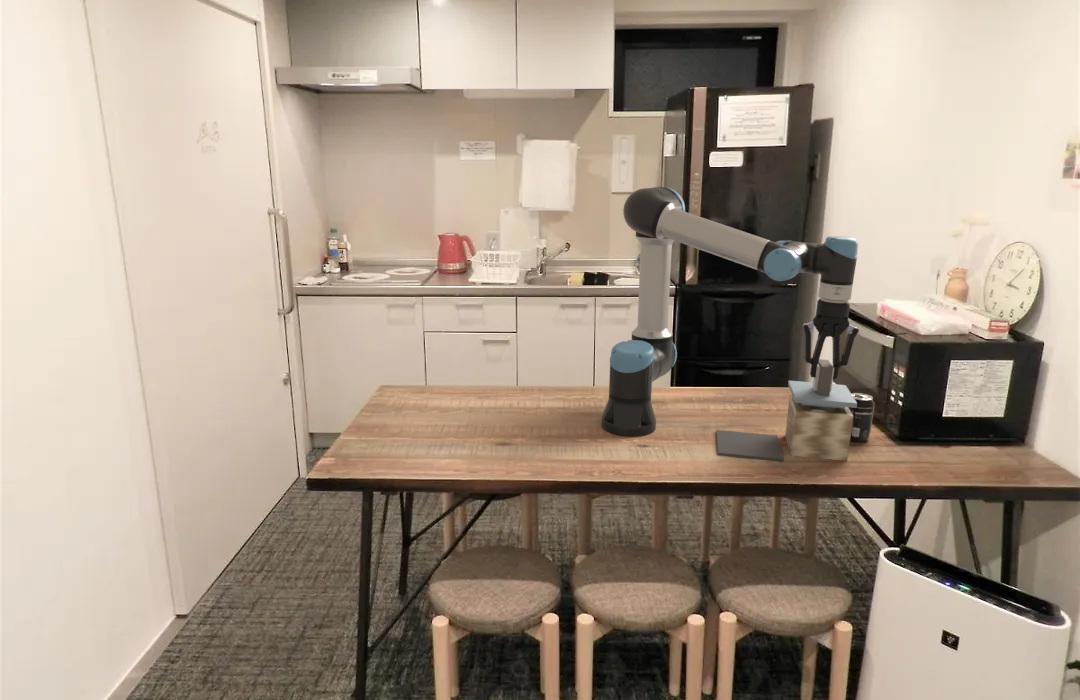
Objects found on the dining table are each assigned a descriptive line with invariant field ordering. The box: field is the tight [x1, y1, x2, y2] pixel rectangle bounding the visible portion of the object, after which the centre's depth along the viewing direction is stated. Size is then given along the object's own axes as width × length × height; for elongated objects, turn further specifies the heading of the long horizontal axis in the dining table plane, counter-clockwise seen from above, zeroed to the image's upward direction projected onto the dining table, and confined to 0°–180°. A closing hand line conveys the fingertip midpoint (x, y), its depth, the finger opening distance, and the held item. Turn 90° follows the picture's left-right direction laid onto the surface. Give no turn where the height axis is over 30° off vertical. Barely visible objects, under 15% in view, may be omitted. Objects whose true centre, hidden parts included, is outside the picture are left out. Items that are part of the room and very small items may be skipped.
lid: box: [787, 358, 857, 409], centre depth 182 cm, size 14×14×10 cm
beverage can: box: [848, 392, 875, 442], centre depth 192 cm, size 7×7×12 cm
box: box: [784, 393, 853, 462], centre depth 185 cm, size 13×13×12 cm
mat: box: [715, 429, 785, 462], centre depth 187 cm, size 16×16×1 cm
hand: (821, 389), depth 183 cm, fingers closed on lid, 3 cm apart
